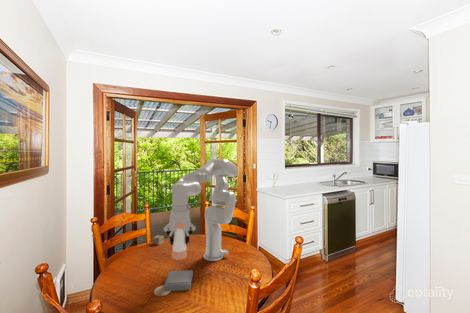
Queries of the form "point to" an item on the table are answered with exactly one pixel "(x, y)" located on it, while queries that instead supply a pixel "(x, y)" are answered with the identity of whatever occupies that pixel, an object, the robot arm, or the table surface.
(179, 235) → the pepper shaker
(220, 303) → the table surface
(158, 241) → the grey cube
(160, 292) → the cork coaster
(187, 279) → the slate stand
